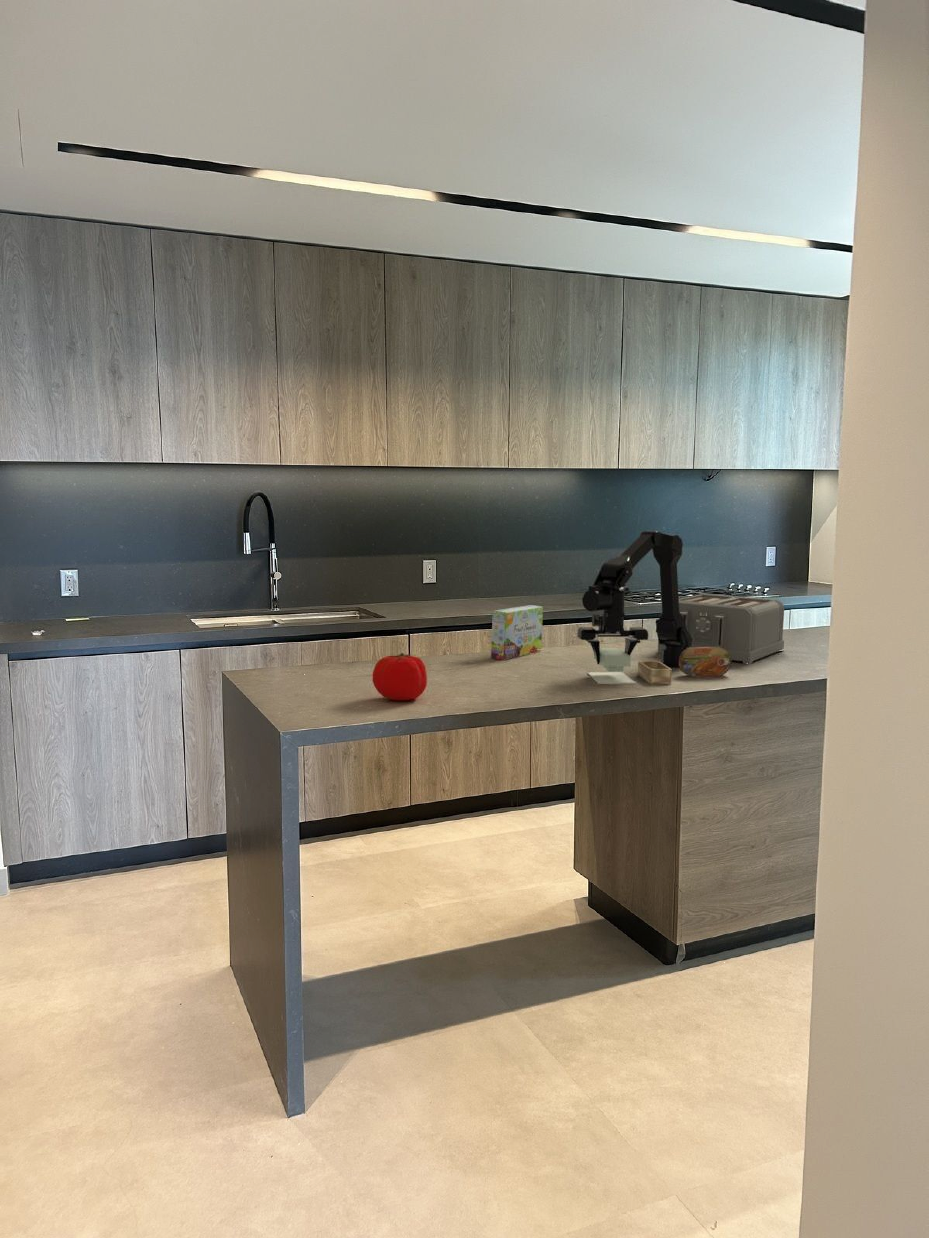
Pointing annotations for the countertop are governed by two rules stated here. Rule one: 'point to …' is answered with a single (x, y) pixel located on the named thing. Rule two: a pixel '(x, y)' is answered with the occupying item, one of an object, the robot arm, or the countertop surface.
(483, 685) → the countertop surface
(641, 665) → the crate
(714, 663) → the tin
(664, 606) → the robot arm
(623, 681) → the mat
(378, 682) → the tomato
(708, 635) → the toaster
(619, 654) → the pale green block
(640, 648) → the countertop surface
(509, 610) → the snack box
